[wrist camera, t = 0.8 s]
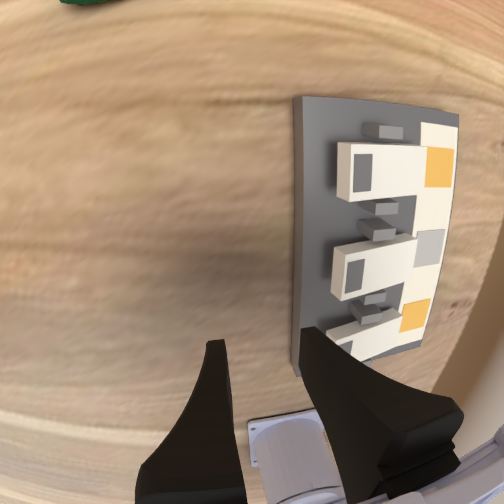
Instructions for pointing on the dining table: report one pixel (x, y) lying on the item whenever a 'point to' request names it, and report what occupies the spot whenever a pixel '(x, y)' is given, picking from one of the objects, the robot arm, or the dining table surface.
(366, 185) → the block
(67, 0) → the gaming controller
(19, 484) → the dining table surface
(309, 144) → the switch unit
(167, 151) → the dining table surface
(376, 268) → the block
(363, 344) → the rocker
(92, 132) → the dining table surface
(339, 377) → the robot arm
